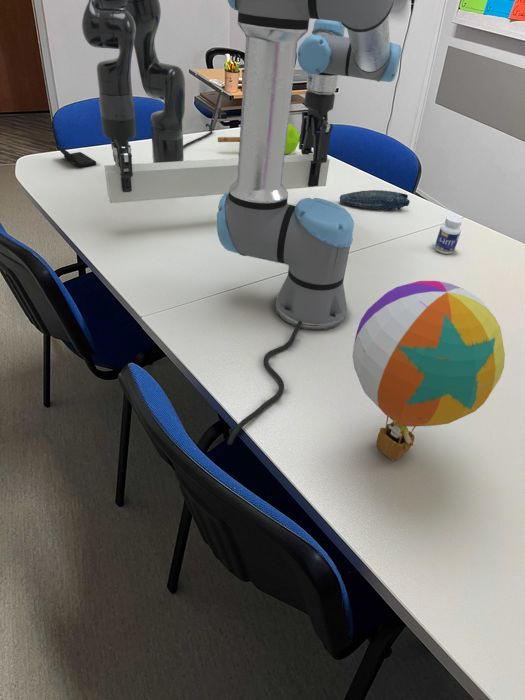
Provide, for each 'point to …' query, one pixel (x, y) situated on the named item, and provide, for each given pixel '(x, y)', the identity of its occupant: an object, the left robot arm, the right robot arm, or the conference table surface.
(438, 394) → the toy
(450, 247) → the pill bottle
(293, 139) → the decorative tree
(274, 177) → the right robot arm
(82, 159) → the black handled tool
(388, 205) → the fish model
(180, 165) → the beam
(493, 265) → the conference table surface
